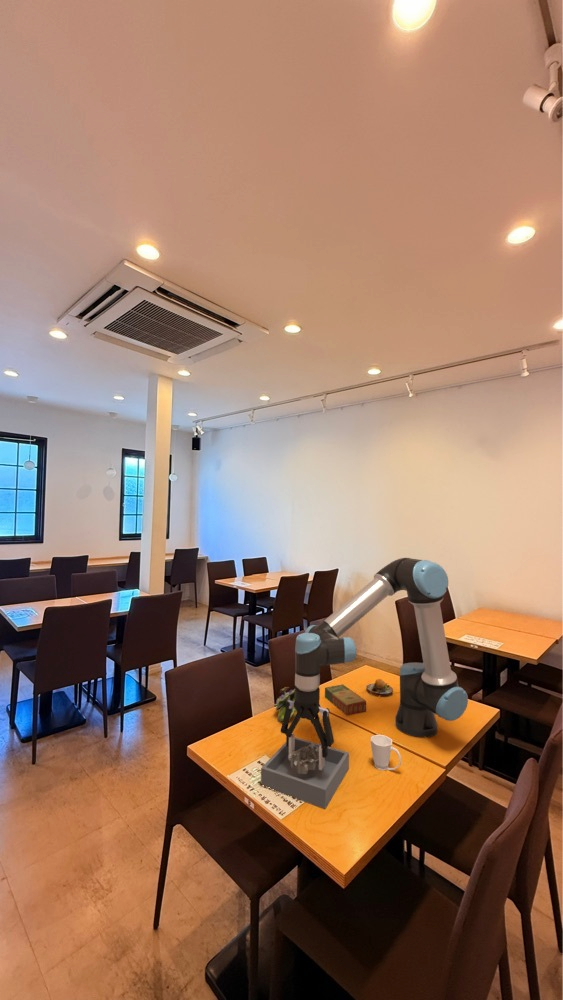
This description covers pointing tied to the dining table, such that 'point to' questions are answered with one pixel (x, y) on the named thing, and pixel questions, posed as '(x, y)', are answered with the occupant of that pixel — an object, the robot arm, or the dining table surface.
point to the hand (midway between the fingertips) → (306, 762)
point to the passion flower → (283, 700)
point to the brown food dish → (380, 689)
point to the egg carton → (305, 758)
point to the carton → (345, 699)
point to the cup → (382, 752)
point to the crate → (306, 775)
